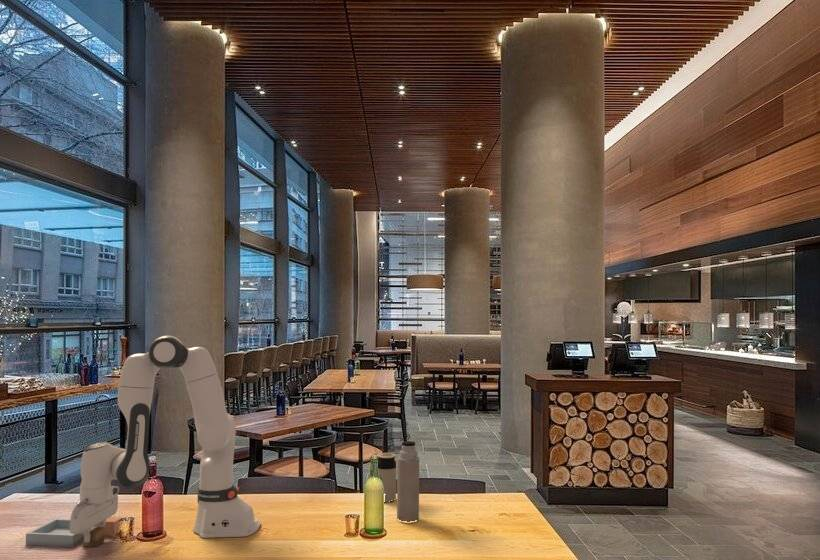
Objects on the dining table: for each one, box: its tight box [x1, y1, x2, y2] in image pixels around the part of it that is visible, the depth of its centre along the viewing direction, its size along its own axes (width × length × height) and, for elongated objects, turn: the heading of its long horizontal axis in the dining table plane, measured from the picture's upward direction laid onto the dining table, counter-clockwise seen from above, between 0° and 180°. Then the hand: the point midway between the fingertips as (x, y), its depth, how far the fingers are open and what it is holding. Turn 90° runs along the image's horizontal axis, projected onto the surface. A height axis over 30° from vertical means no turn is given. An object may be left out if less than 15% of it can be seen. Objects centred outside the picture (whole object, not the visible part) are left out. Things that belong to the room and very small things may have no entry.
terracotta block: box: [104, 516, 123, 536], centre depth 202 cm, size 4×4×4 cm
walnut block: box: [82, 527, 106, 547], centre depth 192 cm, size 4×4×4 cm
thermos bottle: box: [396, 440, 420, 522], centre depth 218 cm, size 8×8×28 cm
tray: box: [25, 518, 98, 548], centre depth 198 cm, size 16×14×4 cm
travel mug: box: [377, 452, 397, 502], centre depth 240 cm, size 8×8×18 cm
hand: (93, 538), depth 192 cm, fingers closed on walnut block, 4 cm apart
